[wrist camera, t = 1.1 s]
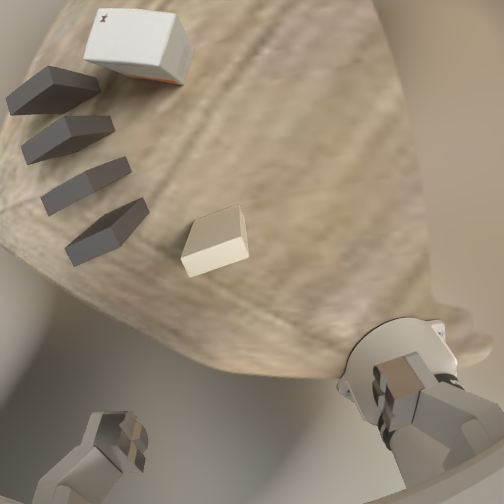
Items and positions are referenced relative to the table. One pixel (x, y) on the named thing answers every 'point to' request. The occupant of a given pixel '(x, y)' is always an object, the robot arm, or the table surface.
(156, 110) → the table surface
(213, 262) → the domino
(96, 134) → the domino
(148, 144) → the table surface
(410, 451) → the robot arm
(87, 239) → the domino
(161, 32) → the skincare box
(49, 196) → the domino
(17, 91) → the domino
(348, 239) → the table surface
